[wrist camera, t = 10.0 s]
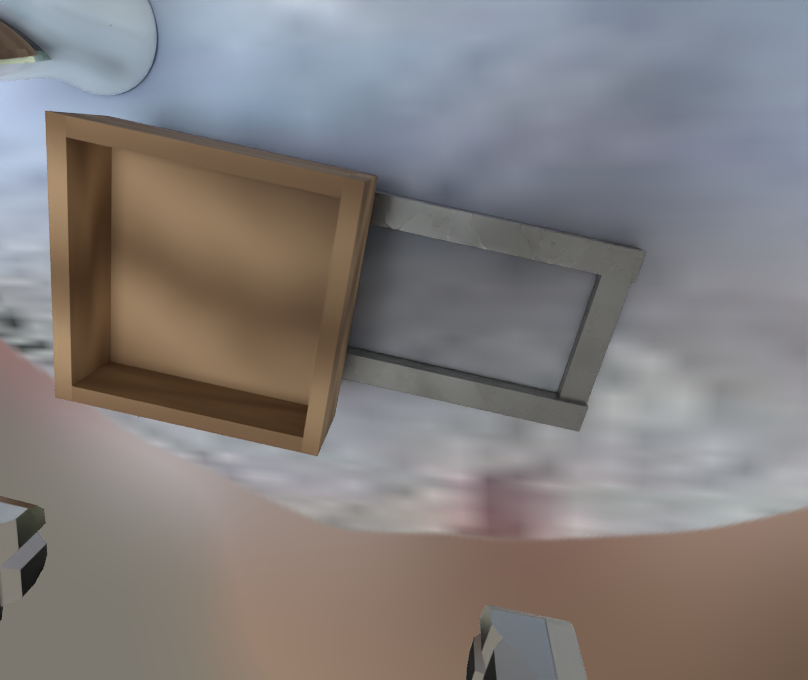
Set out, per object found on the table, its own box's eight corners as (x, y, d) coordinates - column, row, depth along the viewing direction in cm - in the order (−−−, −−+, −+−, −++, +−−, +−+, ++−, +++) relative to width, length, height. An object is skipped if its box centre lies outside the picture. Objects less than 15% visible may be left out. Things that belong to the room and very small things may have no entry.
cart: (134, 118, 26) (45, 110, 20) (383, 173, 26) (364, 181, 20) (130, 349, 31) (55, 397, 25) (342, 396, 31) (317, 456, 25)
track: (129, 135, 28) (106, 135, 26) (639, 248, 28) (653, 256, 26) (126, 322, 32) (106, 334, 30) (575, 423, 31) (583, 440, 30)
